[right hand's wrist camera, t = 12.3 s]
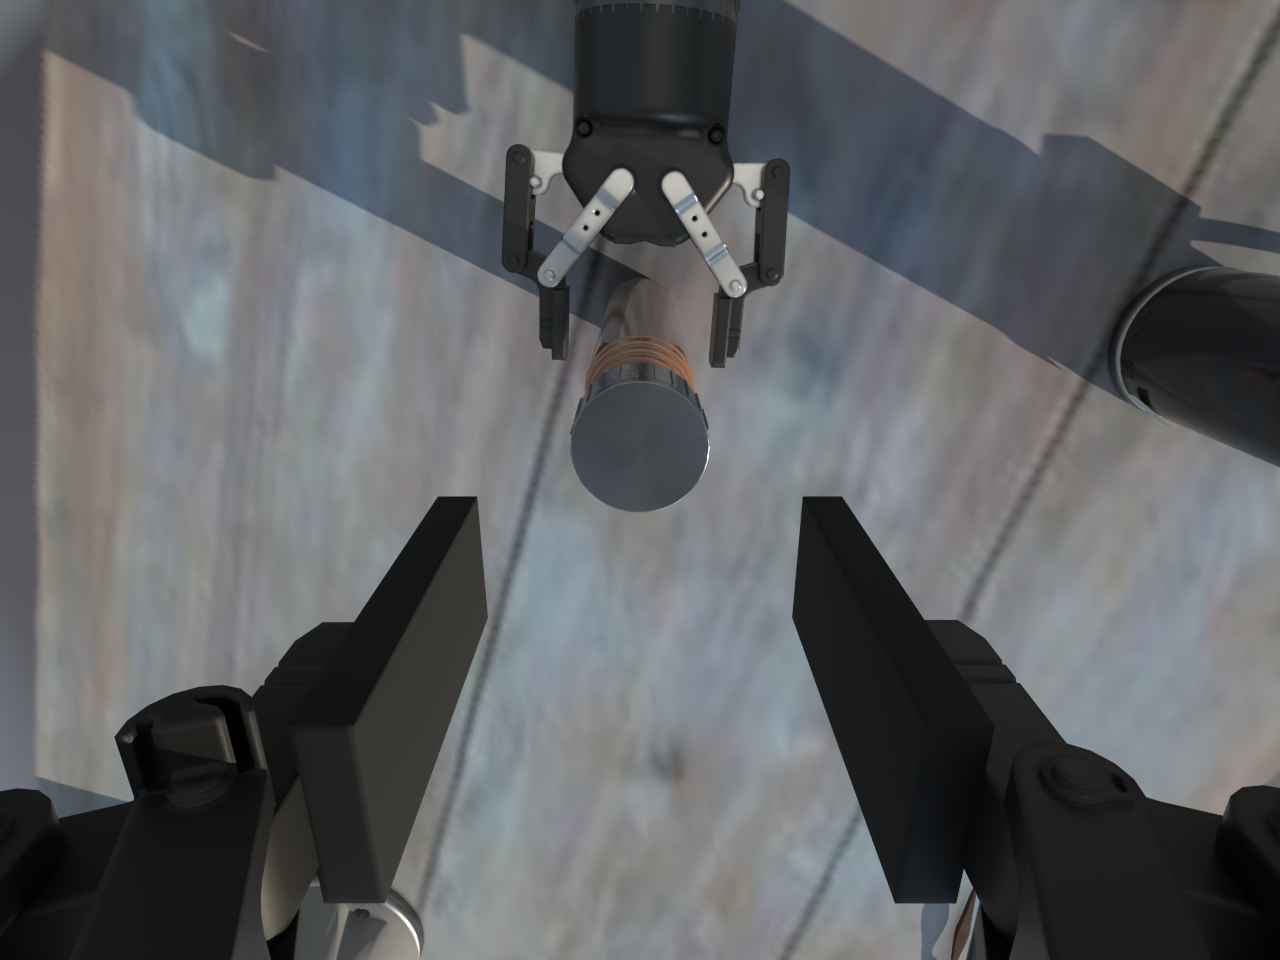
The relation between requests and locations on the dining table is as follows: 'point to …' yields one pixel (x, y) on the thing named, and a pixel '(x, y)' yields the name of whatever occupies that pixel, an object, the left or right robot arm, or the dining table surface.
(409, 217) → the dining table surface
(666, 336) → the ringed wooden cylinder
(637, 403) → the cap
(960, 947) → the fork
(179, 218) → the dining table surface
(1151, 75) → the dining table surface
